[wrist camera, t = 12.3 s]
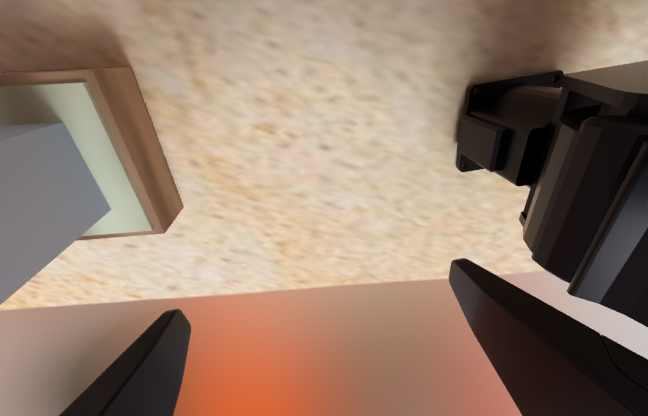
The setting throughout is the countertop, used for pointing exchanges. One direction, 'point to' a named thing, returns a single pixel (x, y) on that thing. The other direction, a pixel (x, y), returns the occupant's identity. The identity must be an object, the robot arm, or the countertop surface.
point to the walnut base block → (102, 141)
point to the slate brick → (41, 199)
